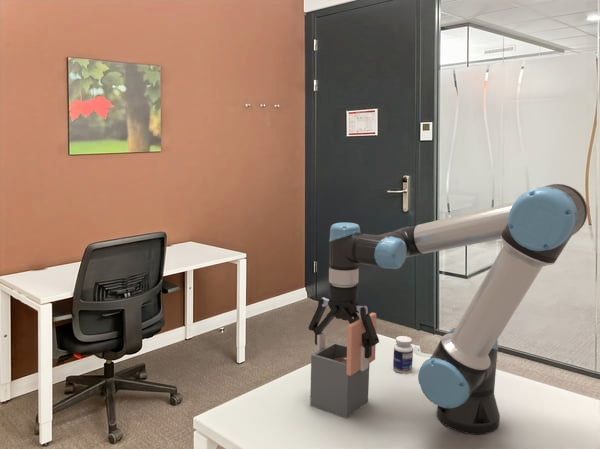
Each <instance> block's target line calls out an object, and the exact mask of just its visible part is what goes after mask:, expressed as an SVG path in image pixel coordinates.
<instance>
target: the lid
mask: <svg viewBox="0 0 600 449" xmlns="http://www.w3.org/2000/svg"><path fill="white" fill-rule="evenodd" d="M369 315H370V317H371V320H372V323H373V325H374V328H375V331H376V332H377V313H376V312H370V313H369ZM346 332H347V333H346V336H347V337H346V338H347V339H346V346H347V372H346V375H350V376H351V375H353V374H354V373H356V372H357V371H359V370H360V369H361V346H362V345H364V344H363V342H362V333H364V332H366V330H365V328H364V325H363V322H362V320H361V318H360V319H359V320H357V321H355V322H353V323H352V324H350V323H349V324H348V325H347V331H346ZM376 345H377V344H376ZM376 345H374V346H372V355H371V357H370V358H369V360H368V364H369V363H372V362H374V361H375V360H376ZM369 365H370V364H369Z"/></svg>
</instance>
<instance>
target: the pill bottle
mask: <svg viewBox="0 0 600 449" xmlns="http://www.w3.org/2000/svg"><path fill="white" fill-rule="evenodd" d="M395 338H396V339H395V343H396V344H394V346H393V361H392V362H393V364H392V369H393V371H394V372H397V373H399V374H408V373H411V372H412V370H413V362H414V361H413V357H414V347H413V345H412V343H413V339H412V337H409V336H406V335H399V336H397V337H395Z"/></svg>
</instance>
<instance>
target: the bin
mask: <svg viewBox="0 0 600 449" xmlns="http://www.w3.org/2000/svg"><path fill="white" fill-rule="evenodd" d="M310 356H311V358H310V400H309V402H310V403H309V404H310V406H311V407H314V408H316V409H320V410H322V411H325V412H328V413H331V414H333V415H336V416H339V417H342V418H345V419H348V418H349V417H350V416H351V415H353V414H354V413H356V412H357V411H358V410H359V409H360V408H362V407H363V406H365V404H367V403H368V402H369V387H370V386H369V385H370V363H369V364H368V368H367V369H366V370H364V371H360V370H361V369H360V370H359V371H357V372H356V373H354V374H353V375H351V376H350V375H346V372H347V364H345V363H342V362H339V361H335V360H333V359H336V358H341V357H347V344H342V343H338V342H333V343H330V344H329V345H327V346H325V348H323V349H321V350H319V351H317V350H316V352H314V353H312V354H311V355H310Z"/></svg>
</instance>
